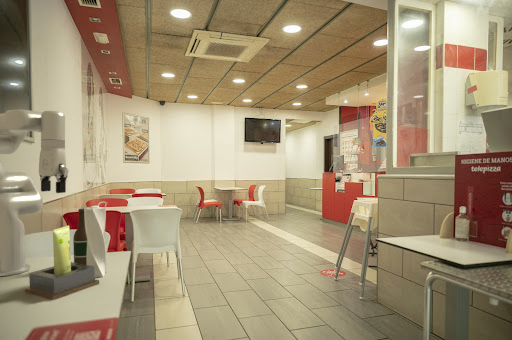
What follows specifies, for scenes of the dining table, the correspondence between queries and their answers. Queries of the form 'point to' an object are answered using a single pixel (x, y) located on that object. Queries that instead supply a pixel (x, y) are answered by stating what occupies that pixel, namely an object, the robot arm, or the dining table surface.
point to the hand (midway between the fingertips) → (53, 191)
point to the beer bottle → (80, 240)
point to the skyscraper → (96, 238)
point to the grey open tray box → (61, 281)
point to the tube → (61, 250)
